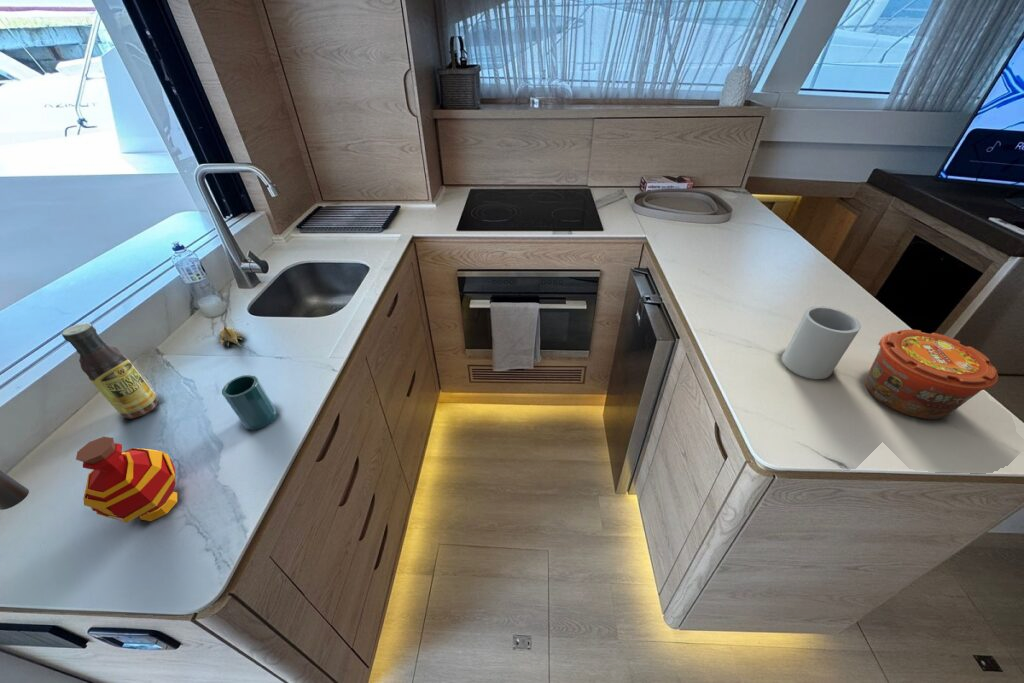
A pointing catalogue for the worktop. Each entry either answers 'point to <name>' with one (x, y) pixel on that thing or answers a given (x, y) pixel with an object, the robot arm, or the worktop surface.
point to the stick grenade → (10, 491)
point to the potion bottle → (127, 481)
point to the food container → (927, 374)
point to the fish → (229, 336)
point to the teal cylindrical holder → (249, 402)
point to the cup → (820, 342)
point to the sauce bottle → (111, 372)
